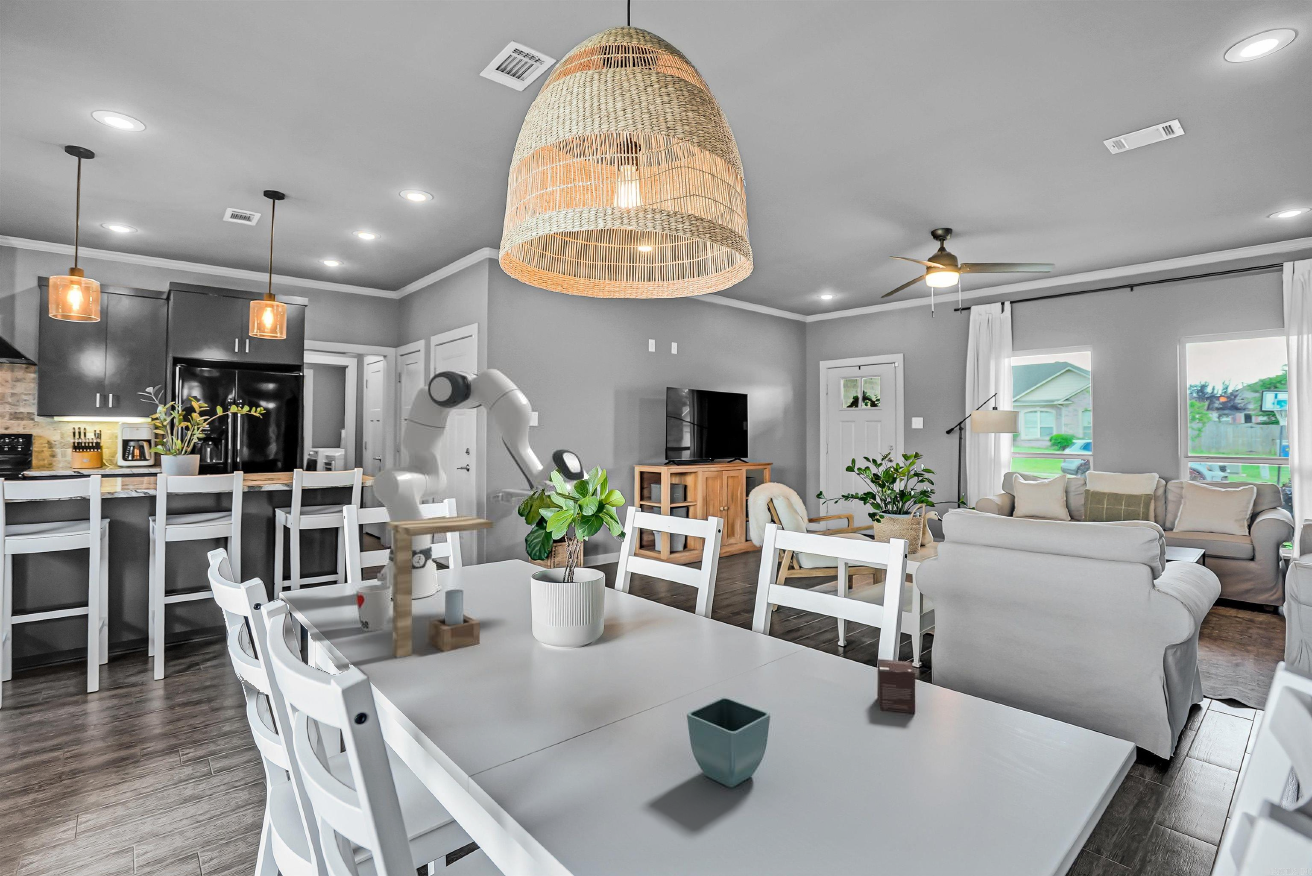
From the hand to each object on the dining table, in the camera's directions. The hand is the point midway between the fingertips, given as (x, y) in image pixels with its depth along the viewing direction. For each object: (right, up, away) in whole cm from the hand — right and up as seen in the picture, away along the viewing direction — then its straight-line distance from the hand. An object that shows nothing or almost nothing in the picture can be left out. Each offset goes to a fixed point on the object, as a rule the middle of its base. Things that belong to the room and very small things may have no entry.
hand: (501, 500), depth 164 cm
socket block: (-7, -32, -14) cm, 36 cm away
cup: (-31, -32, -3) cm, 45 cm away
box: (+83, -33, -47) cm, 101 cm away
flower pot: (+50, -33, -72) cm, 93 cm away
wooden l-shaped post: (-10, -32, -17) cm, 38 cm away
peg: (-8, -32, -14) cm, 36 cm away
